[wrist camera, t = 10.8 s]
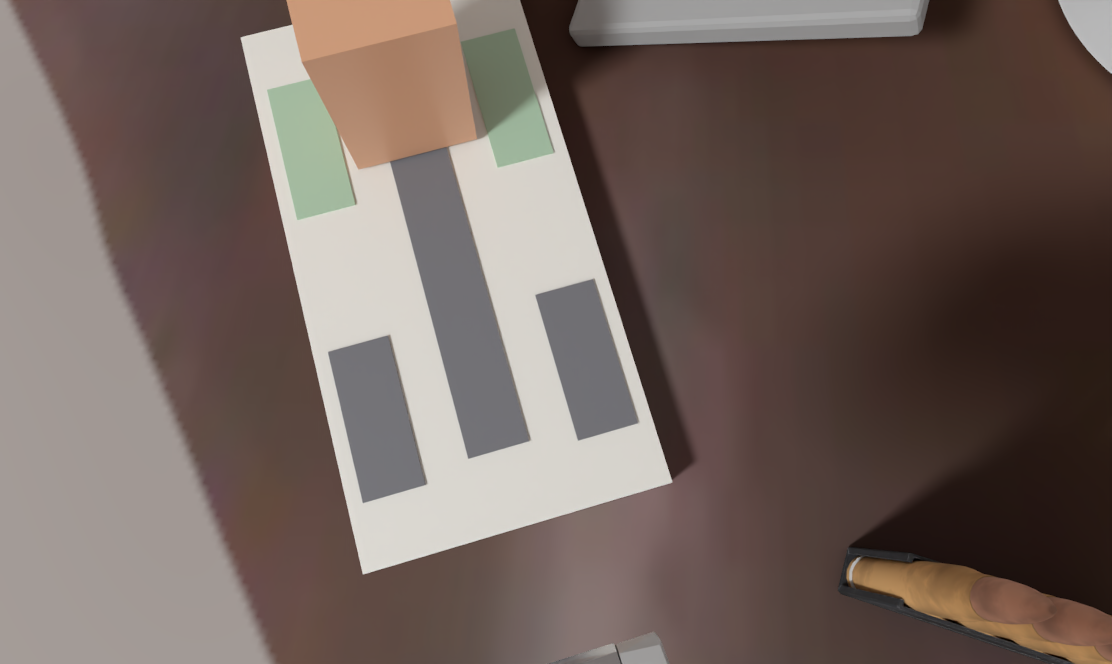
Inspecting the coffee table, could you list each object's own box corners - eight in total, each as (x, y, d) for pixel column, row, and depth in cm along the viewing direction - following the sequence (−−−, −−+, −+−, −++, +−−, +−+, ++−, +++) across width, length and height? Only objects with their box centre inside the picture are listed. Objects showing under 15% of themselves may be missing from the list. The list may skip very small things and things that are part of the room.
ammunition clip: (836, 592, 31) (1008, 635, 20) (847, 545, 32) (1022, 560, 20) (1108, 683, 31) (1452, 783, 19) (1116, 634, 31) (1458, 703, 20)
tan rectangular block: (452, 55, 34) (426, -81, 27) (477, 139, 34) (456, 23, 26) (337, 84, 34) (275, -46, 26) (358, 169, 33) (301, 61, 25)
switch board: (512, -7, 37) (510, -30, 36) (666, 484, 32) (672, 482, 31) (252, 56, 36) (240, 36, 35) (371, 571, 31) (362, 574, 30)
